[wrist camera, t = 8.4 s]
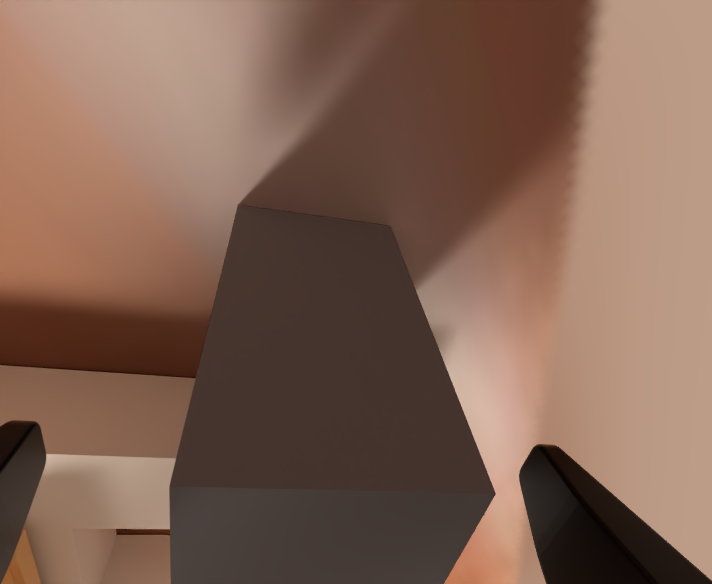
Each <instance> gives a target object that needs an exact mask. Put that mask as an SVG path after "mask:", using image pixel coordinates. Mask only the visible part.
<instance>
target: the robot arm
mask: <svg viewBox="0 0 712 584" xmlns="http://www.w3.org/2000/svg"><path fill="white" fill-rule="evenodd" d="M45 464H46V449H45V445H44V440H43V436H42V431H41V427H40V425H39V424H38V423H37V422H35V421H21V420H12V421H9V422H6V423H4V424H3V425H1V426H0V584H1V583H2V581H3V579H4V576H5V574H6V572H7V570H8V567H9V565H10V563H11V560H12V558H13V555H14V553H15V550H16V547H17V544H18V542H19V539H20V536H21V533H22V530H23V527H24V525H25V522H26V519H27V516H28V513H29V511H30V508H31V505H32V502H33V499H34V496H35V494H36V491H37V488H38V485H39V482H40V479H41V477H42V474H43V471H44V468H45ZM519 480H520V485H521V490H522V494H523V498H524V502H525V506H526V511H527V515H528V519H529V523H530V527H531V532H532V536H533V540H534V544H535V548H536V552H537V556H538V559H539V562H540V566H541V569H542V572H543V575H544V578H545V581H546V584H712V581H711V580H710V579H709V578H708V577H707V576H706V575H704V574H703V573H702V572H701V571H700V570H699V569H698V568H697V567H695V566H694V565H693V564H692V563H691V562H689V560H687V559H686V558H685V557H684V556H683V555H681V554H680V553H679V552H678V551H677V550H676V549H675V548H674V547H672V546H671V545H670V544H669V543H667V541H666V540H664V539H663V538H662V537H661V536H660V535H659V534H658V533H656V532H655V531H654V530H653V529H652V528H651V527H650V526H649V525H647V524H646V523H645V522H644V521H643V520H642V519H641V518H639V517H638V516H637V515H636V514H635V513H634V512H632V511H631V510H630V509H629V508H628V507H627V506H626V505H625V504H623V503H622V502H621V501H620V500H619V499H618V498H617V497H615V496H614V495H613V494H612V493H611V492H610V491H608V490H607V489H606V488H605V487H604V486H603V485H602V484H600V483H599V482H598V481H597V480H596V479H595V478H594V477H593V476H591V475H590V474H589V473H588V472H587V471H586V470H584V469H583V468H582V467H581V466H580V465H579V464H577V462H575V461H574V460H573V459H572V458H571V457H570V456H568V455H567V454H566V453H565V452H564V451H563V450H561V449H560V448H559V447H557V446H555V445H546V444H538V445H536V446H534V447H533V449H532V450H531V452H530V454H529V455H528V457H527V459H526V460H525V462H524V464H523V466H522V467H521V469H520V474H519Z"/></svg>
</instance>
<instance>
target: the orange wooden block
mask: <svg viewBox="0 0 712 584" xmlns="http://www.w3.org/2000/svg"><path fill="white" fill-rule="evenodd" d="M1 584H41V581H40V578H39V574H38V571H37V567H36V564H35V561H34V557H33V554H32V550H31V547H30V544H29V540H28V537H27V533H26V530H25V529H23V530H22V533H21V536H20V539H19V542H18V544H17V547H16V550H15V553H14V555H13V558H12V560H11V563H10V565H9V567H8V570H7V572H6V574H5V576H4V579H3V581H2V583H1Z"/></svg>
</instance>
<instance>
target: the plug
mask: <svg viewBox="0 0 712 584" xmlns="http://www.w3.org/2000/svg"><path fill="white" fill-rule="evenodd" d="M495 494H496V493H495V491H494V488H493V486H492V483H491V481H490V478H489V476H488V473H487V470H486V468H485V465H484V463H483V460H482V458H481V455H480V453H479V450H478V448H477V445H476V443H475V440H474V437H473V435H472V432H471V430H470V427H469V425H468V422H467V420H466V417H465V415H464V412H463V410H462V407H461V404H460V402H459V399H458V397H457V394H456V392H455V389H454V387H453V384H452V382H451V379H450V376H449V374H448V371H447V369H446V366H445V364H444V361H443V359H442V356H441V354H440V351H439V349H438V346H437V343H436V341H435V338H434V336H433V333H432V331H431V328H430V326H429V323H428V321H427V318H426V316H425V313H424V310H423V308H422V305H421V303H420V300H419V298H418V295H417V293H416V290H415V288H414V285H413V282H412V280H411V277H410V275H409V272H408V270H407V267H406V265H405V262H404V260H403V257H402V255H401V252H400V249H399V247H398V244H397V242H396V239H395V237H394V234H393V232H392V229H391V227H390V226H387V225H379V224H372V223H365V222H358V221H351V220H344V219H336V218H329V217H322V216H315V215H308V214H300V213H293V212H286V211H279V210H272V209H265V208H257V207H250V206H243V205H238V207H237V212H236V216H235V220H234V224H233V228H232V232H231V236H230V240H229V244H228V248H227V252H226V257H225V261H224V265H223V269H222V273H221V277H220V281H219V285H218V289H217V293H216V297H215V301H214V306H213V310H212V314H211V318H210V322H209V326H208V330H207V334H206V338H205V342H204V346H203V350H202V355H201V359H200V363H199V367H198V371H197V375H196V379H195V383H194V387H193V391H192V395H191V400H190V404H189V408H188V412H187V416H186V420H185V424H184V428H183V432H182V436H181V440H180V444H179V449H178V453H177V457H176V461H175V465H174V469H173V473H172V477H171V481H170V485H169V504H170V572H171V584H444V583H445V581H446V579H447V577H448V576H449V574H450V572H451V570H452V569H453V567H454V565H455V563H456V562H457V560H458V558H459V557H460V555H461V553H462V551H463V550H464V548H465V546H466V544H467V543H468V541H469V539H470V538H471V536H472V534H473V532H474V531H475V529H476V527H477V525H478V524H479V522H480V520H481V518H482V517H483V515H484V513H485V512H486V510H487V508H488V506H489V505H490V503H491V501H492V499H493V498H494V496H495Z"/></svg>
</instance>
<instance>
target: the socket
mask: <svg viewBox="0 0 712 584" xmlns="http://www.w3.org/2000/svg"><path fill="white" fill-rule="evenodd" d="M195 379H196V378H184V377H169V376H154V375H139V374H124V373H109V372H94V371H79V370H64V369H49V368H34V367H20V366H5V365H0V426H1V425H3V424H4V423H6V422H9V421H12V420H21V421H35V422H37V423H38V424H39V425H40V427H41V431H42V436H43V440H44V445H45V449H46V464H45V468H44V471H43V474H42V477H41V479H40V482H39V485H38V488H37V491H36V494H35V496H34V499H33V502H32V505H31V508H30V511H29V513H28V516H27V519H26V522H25V525H24V527H23V529H25V530H26V533H27V537H28V540H29V544H30V547H31V550H32V554H33V557H34V561H35V564H36V567H37V571H38V574H39V578H40V581H41V584H171V572H170V535H117V533H116V529H170V504H169V485H170V481H171V477H172V473H173V469H174V465H175V461H176V457H177V453H178V449H179V444H180V440H181V436H182V432H183V428H184V424H185V420H186V416H187V412H188V408H189V404H190V400H191V395H192V391H193V387H194V383H195Z"/></svg>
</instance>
